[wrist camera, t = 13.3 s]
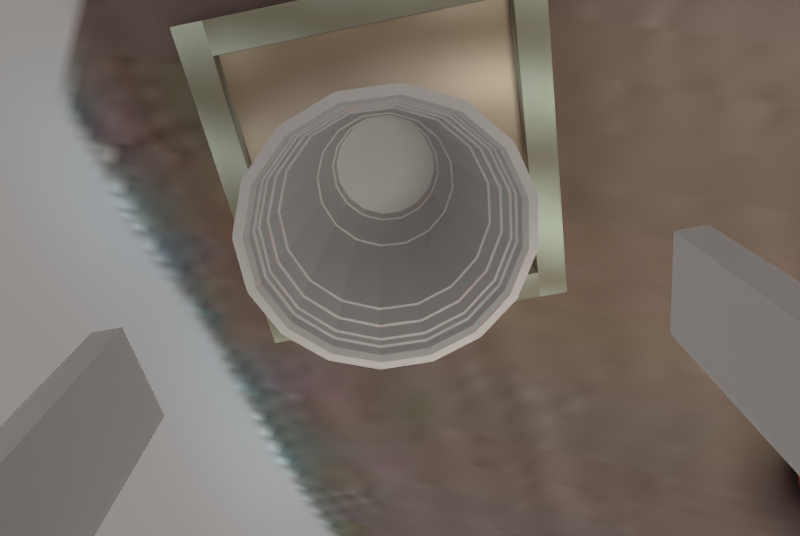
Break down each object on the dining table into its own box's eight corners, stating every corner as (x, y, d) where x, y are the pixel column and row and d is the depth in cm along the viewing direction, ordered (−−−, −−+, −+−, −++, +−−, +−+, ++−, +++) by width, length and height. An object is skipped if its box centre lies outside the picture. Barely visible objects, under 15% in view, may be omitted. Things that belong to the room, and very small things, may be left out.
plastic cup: (429, 286, 32) (450, 416, 21) (262, 210, 30) (189, 311, 19) (524, 123, 28) (610, 179, 17) (340, 23, 26) (306, 13, 15)
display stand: (203, 28, 30) (169, 27, 25) (519, -39, 29) (544, -53, 24) (289, 304, 37) (275, 342, 32) (543, 259, 36) (566, 291, 31)
